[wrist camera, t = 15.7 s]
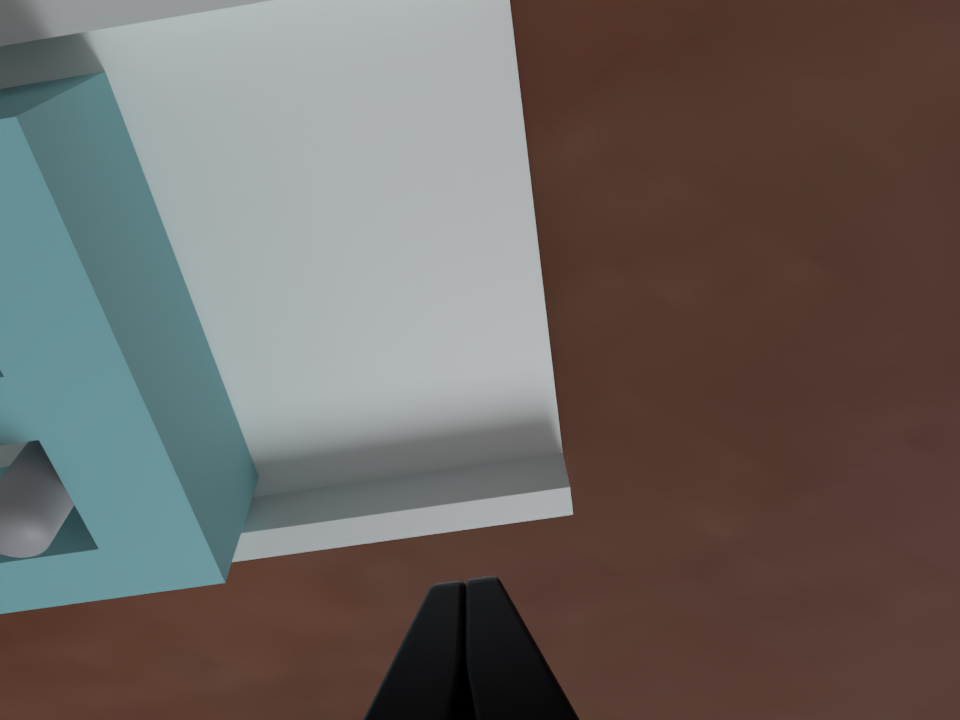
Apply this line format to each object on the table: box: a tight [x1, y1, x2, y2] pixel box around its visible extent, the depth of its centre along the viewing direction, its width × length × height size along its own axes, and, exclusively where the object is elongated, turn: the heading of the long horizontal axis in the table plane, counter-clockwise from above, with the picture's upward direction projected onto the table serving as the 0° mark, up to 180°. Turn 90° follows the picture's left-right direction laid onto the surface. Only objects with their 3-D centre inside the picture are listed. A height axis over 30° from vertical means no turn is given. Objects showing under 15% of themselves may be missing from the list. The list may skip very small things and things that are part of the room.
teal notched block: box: [0, 72, 259, 614], centre depth 18 cm, size 7×11×4 cm, turn 8°
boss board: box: [0, 0, 573, 562], centre depth 18 cm, size 16×15×6 cm
